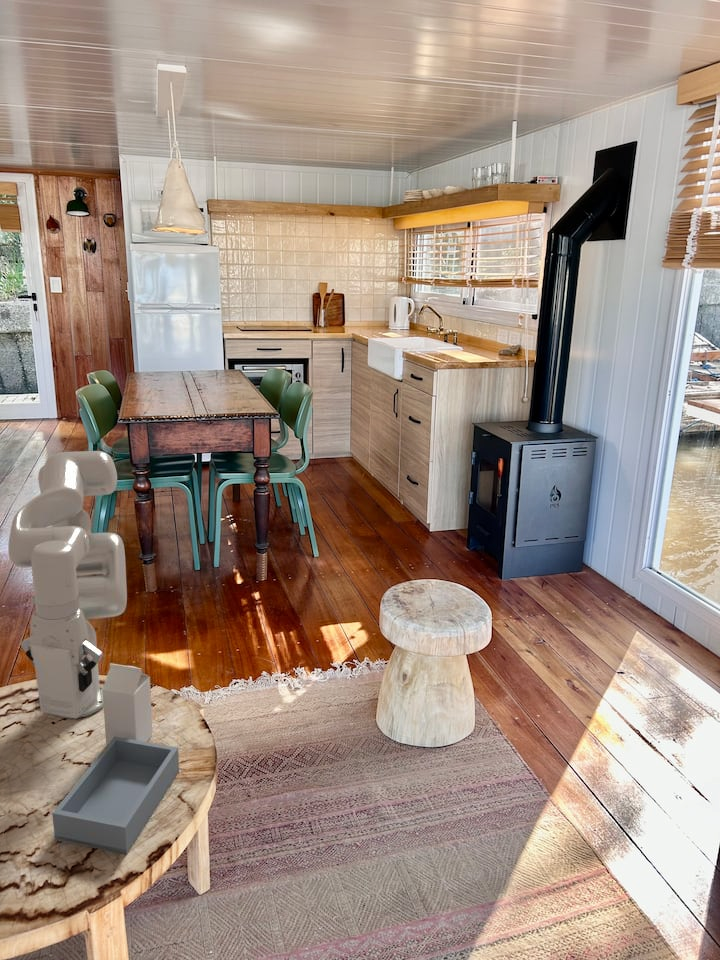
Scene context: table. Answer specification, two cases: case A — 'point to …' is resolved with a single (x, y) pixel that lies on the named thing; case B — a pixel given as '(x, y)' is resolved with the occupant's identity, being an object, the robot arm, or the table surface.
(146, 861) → the table surface
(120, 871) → the table surface
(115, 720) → the milk carton
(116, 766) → the tote
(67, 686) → the skincare box
